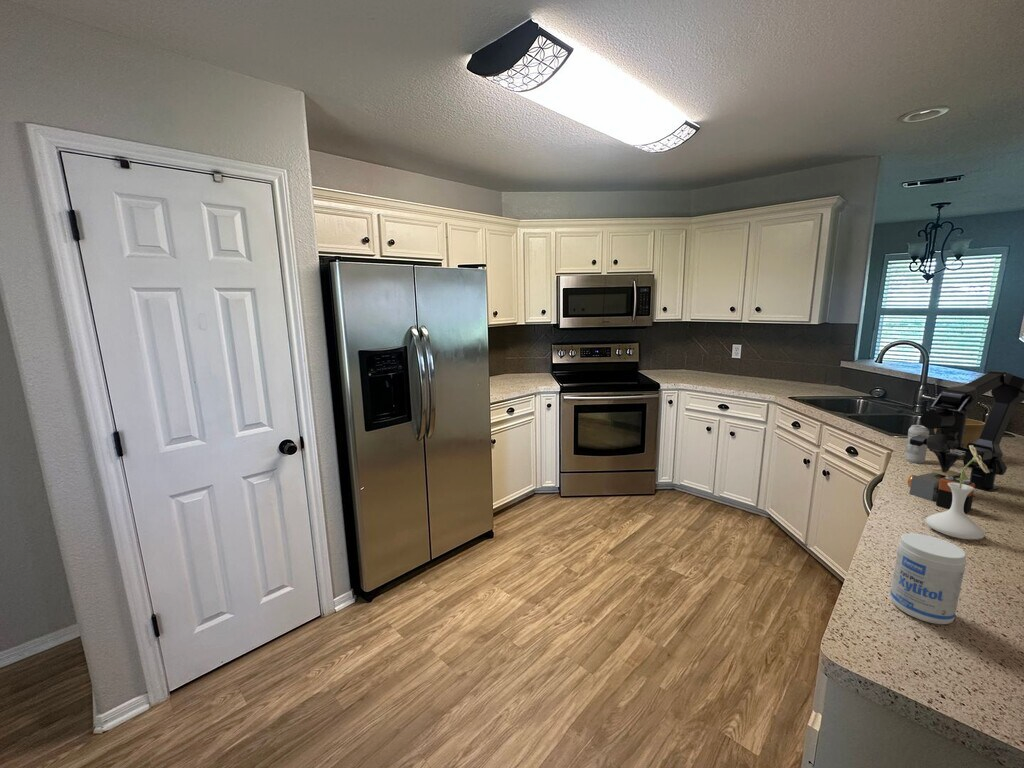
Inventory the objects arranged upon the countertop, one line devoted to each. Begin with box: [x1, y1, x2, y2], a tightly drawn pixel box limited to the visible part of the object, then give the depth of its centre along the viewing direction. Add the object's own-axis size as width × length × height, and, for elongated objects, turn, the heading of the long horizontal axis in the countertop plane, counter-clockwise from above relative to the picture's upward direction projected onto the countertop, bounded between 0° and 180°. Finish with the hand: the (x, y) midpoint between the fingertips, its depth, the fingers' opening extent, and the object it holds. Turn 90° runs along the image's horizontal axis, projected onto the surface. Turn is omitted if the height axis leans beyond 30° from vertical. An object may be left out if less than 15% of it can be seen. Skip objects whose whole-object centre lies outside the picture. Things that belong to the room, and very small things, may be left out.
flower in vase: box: [924, 445, 990, 540], centre depth 113 cm, size 13×11×25 cm
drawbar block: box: [909, 472, 963, 502], centre depth 139 cm, size 16×6×6 cm, turn 109°
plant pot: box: [933, 418, 986, 460], centre depth 174 cm, size 15×15×16 cm
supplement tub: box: [889, 532, 967, 625], centre depth 84 cm, size 10×10×15 cm
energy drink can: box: [904, 424, 930, 464], centre depth 169 cm, size 6×6×15 cm
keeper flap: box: [932, 468, 961, 476], centre depth 140 cm, size 7×4×1 cm, turn 109°
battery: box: [935, 476, 975, 514], centre depth 128 cm, size 4×7×10 cm, turn 27°
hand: (944, 471), depth 139 cm, fingers closed, pressing on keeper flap
